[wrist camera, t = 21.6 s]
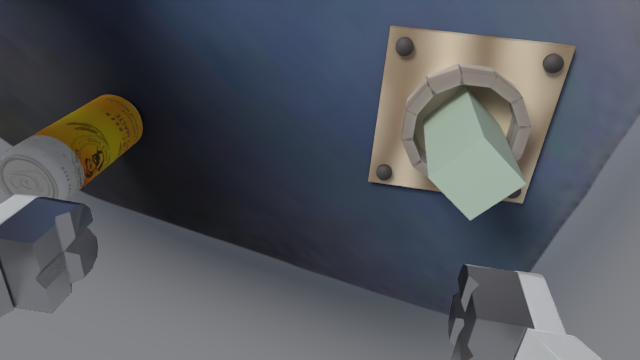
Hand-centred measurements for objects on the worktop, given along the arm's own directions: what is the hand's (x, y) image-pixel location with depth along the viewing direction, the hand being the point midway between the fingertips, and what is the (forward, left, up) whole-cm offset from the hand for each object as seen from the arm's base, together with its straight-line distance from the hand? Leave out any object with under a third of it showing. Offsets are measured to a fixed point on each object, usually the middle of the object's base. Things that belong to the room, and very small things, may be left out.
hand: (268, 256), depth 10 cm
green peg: (+10, -10, -36) cm, 39 cm away
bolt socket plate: (+10, -10, -37) cm, 40 cm away
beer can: (-26, -15, -37) cm, 48 cm away
